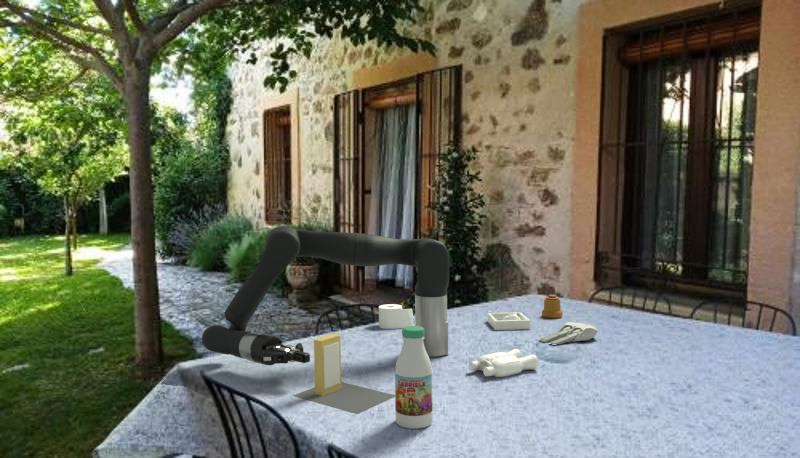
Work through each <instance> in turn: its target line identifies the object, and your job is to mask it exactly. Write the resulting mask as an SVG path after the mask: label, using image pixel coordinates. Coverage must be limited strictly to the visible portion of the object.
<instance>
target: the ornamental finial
mask: <svg viewBox="0 0 800 458" xmlns="http://www.w3.org/2000/svg"><path fill="white" fill-rule="evenodd" d="M561 307H562V306H561V299H560V298H559V296H557V294H548V295H547V296H546V297H545V298H544V299H543V309H542V311H541V315H542V317H544V318H545V319H560V318H562V317H563V315H564V312H563V310H562V309H561Z"/></svg>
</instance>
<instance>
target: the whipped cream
mask: <svg viewBox="0 0 800 458" xmlns="http://www.w3.org/2000/svg"><path fill="white" fill-rule="evenodd" d="M510 313H511V314H510V315H508V316H505V317H503V318H504V319H503V320H521V319H520V317H518V316H517V314H516V313H515V312H510Z"/></svg>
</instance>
